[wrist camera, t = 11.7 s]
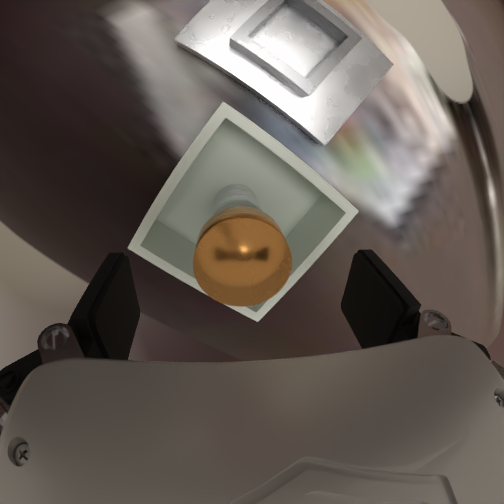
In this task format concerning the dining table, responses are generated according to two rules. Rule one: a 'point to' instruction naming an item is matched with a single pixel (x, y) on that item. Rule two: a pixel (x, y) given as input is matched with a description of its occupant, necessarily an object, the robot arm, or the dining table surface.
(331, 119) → the white base with recess
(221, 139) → the bin
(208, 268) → the copper-capped metal peg
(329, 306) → the dining table surface
